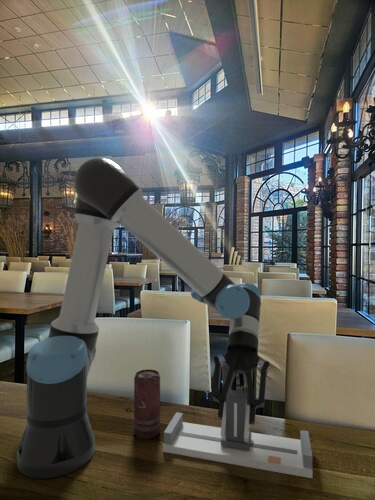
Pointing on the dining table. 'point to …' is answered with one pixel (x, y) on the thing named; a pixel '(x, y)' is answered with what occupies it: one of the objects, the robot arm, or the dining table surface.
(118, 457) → the dining table surface
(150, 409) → the can
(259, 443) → the fader base
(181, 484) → the dining table surface
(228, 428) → the fader knob
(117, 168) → the robot arm
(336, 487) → the dining table surface
